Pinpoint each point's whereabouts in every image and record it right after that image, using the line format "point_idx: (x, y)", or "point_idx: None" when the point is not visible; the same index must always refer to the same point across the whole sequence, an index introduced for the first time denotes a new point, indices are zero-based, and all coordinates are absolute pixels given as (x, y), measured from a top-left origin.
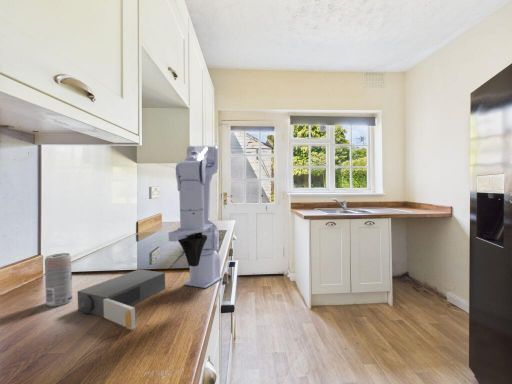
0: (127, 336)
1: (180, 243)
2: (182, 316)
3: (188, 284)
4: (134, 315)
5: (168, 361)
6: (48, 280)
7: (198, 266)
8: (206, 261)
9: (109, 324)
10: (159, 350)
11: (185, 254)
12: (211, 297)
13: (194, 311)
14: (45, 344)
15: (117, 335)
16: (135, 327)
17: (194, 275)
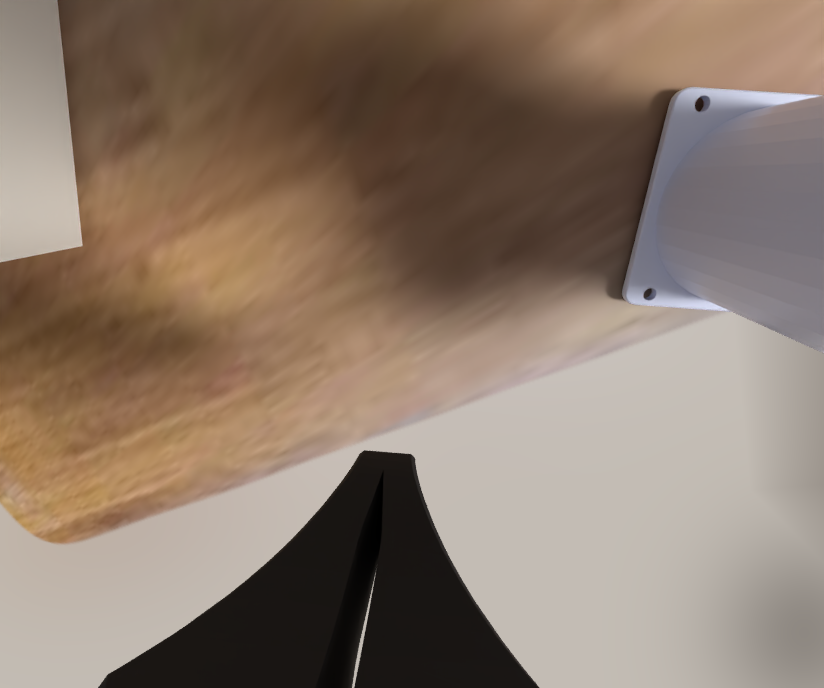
0: None
1: (159, 656)
2: (275, 366)
3: (660, 147)
4: (27, 255)
5: (51, 479)
6: None
7: (746, 262)
8: (806, 342)
9: None
10: (65, 426)
11: (312, 518)
12: (502, 389)
13: (336, 389)
14: None
15: None
16: (82, 245)
17: (699, 206)
